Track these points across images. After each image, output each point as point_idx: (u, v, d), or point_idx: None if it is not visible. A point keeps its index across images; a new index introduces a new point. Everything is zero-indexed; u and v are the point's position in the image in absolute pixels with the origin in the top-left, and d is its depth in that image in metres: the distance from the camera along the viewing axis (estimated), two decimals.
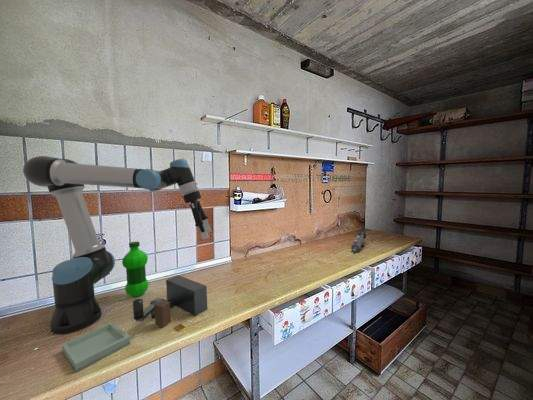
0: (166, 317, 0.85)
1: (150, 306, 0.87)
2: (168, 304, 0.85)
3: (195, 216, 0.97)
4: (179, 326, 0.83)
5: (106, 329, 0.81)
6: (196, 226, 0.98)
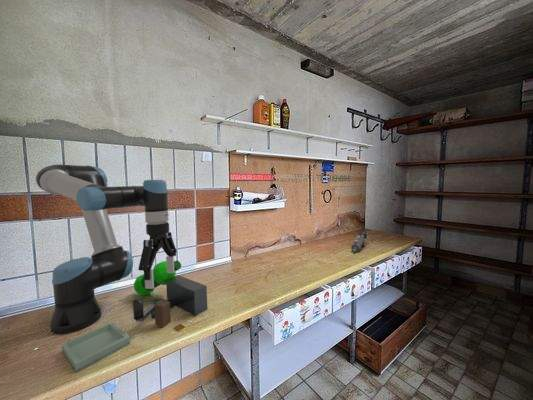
0: (166, 317, 0.85)
1: (150, 306, 0.87)
2: (168, 304, 0.85)
3: (142, 258, 0.75)
4: (179, 326, 0.83)
5: (106, 329, 0.81)
6: None
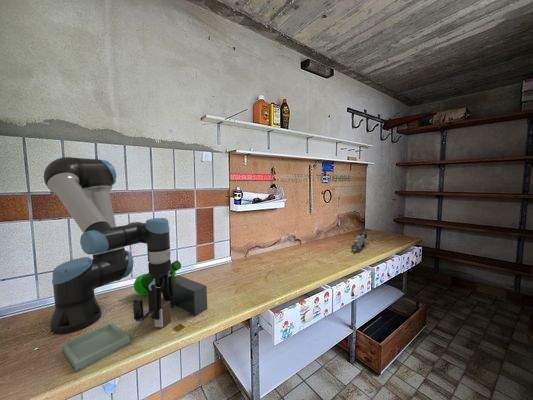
0: (166, 317, 0.85)
1: None
2: (168, 304, 0.85)
3: (150, 301, 0.79)
4: (179, 326, 0.83)
5: (106, 329, 0.81)
6: None
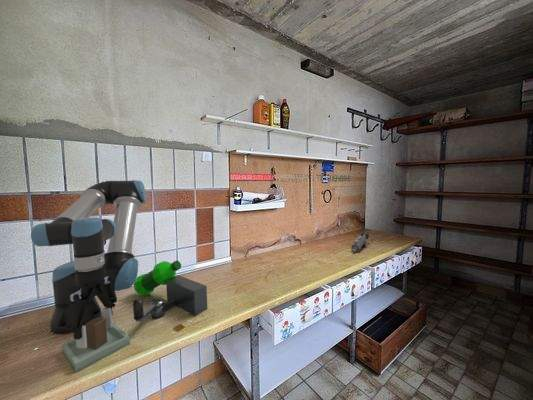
0: (101, 337, 0.73)
1: (150, 306, 0.87)
2: (103, 321, 0.74)
3: (69, 316, 0.65)
4: (179, 326, 0.83)
5: None
6: None
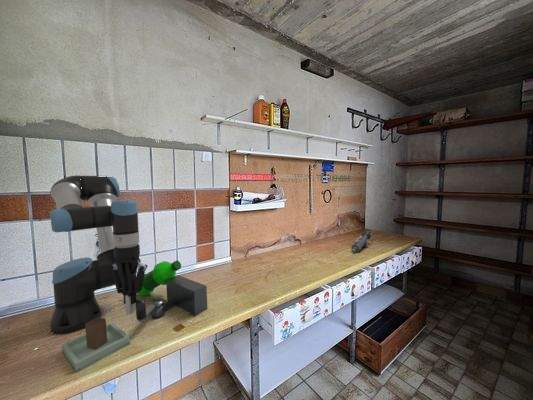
0: (101, 337, 0.73)
1: (151, 306, 0.87)
2: (103, 321, 0.74)
3: None
4: (179, 326, 0.83)
5: None
6: None
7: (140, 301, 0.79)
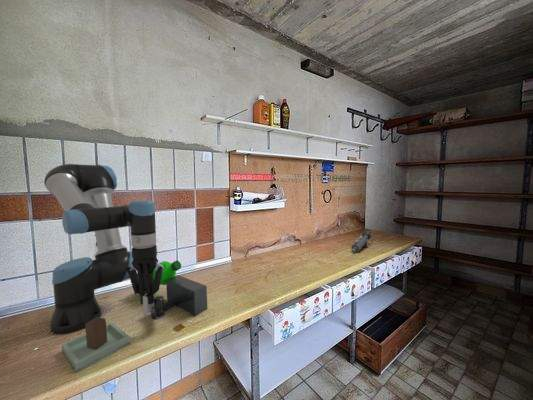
0: (101, 337, 0.73)
1: None
2: (103, 321, 0.74)
3: None
4: (179, 326, 0.83)
5: None
6: None
7: (159, 298, 0.81)
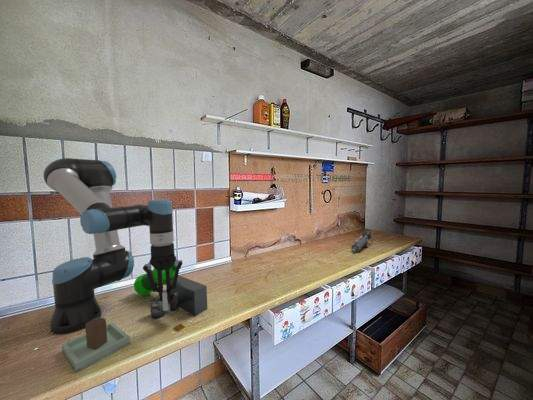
0: (101, 337, 0.73)
1: (162, 304, 0.89)
2: (103, 321, 0.74)
3: None
4: (179, 326, 0.83)
5: None
6: None
7: (175, 293, 0.85)
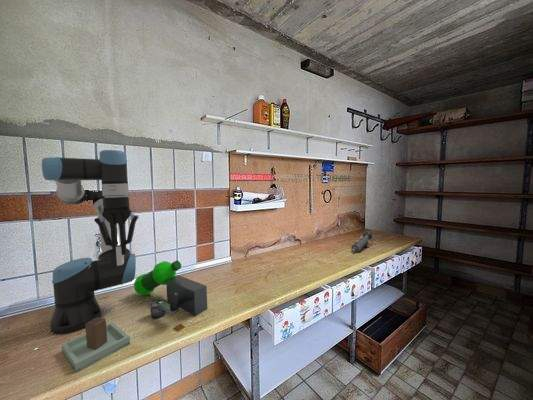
0: (101, 337, 0.73)
1: (162, 304, 0.89)
2: (103, 321, 0.74)
3: None
4: (179, 326, 0.83)
5: None
6: None
7: (175, 293, 0.85)
